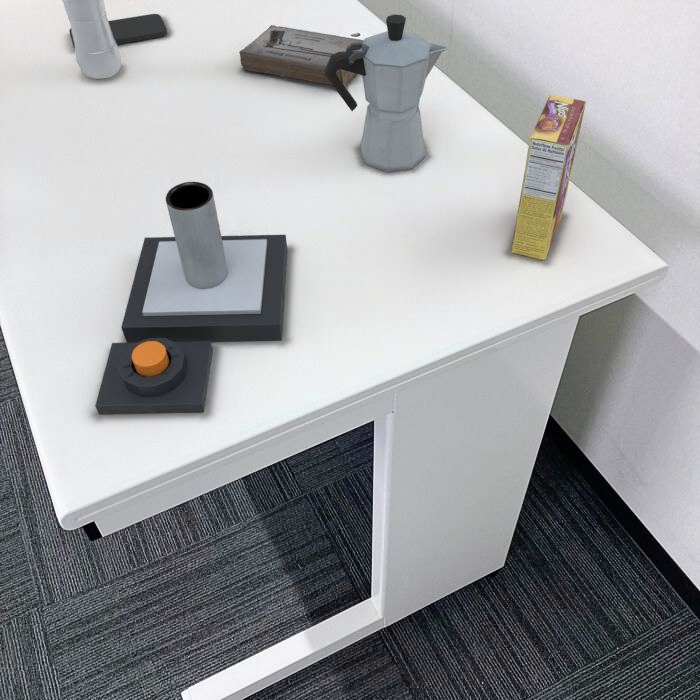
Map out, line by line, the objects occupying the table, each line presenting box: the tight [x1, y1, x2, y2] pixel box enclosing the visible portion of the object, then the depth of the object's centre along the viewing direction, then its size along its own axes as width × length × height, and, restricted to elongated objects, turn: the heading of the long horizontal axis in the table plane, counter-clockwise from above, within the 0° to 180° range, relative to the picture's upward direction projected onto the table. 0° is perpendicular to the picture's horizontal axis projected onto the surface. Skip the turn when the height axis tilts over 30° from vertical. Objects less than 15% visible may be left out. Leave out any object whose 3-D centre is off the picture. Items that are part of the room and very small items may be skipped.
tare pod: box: [95, 338, 214, 415], centre depth 72 cm, size 10×8×3 cm
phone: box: [68, 13, 168, 50], centre depth 121 cm, size 7×1×15 cm
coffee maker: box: [324, 13, 448, 173], centre depth 91 cm, size 15×9×18 cm, turn 100°
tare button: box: [132, 341, 169, 377], centre depth 70 cm, size 3×3×2 cm
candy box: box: [511, 94, 587, 261], centre depth 81 cm, size 9×4×15 cm, turn 157°
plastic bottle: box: [61, 0, 123, 80], centre depth 106 cm, size 6×7×20 cm
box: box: [238, 24, 364, 86], centre depth 112 cm, size 11×17×3 cm, turn 66°
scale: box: [121, 234, 288, 343], centre depth 80 cm, size 16×14×3 cm
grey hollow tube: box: [165, 181, 228, 288], centre depth 75 cm, size 4×4×10 cm
